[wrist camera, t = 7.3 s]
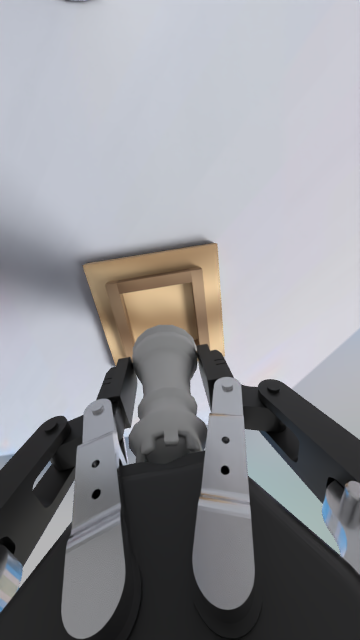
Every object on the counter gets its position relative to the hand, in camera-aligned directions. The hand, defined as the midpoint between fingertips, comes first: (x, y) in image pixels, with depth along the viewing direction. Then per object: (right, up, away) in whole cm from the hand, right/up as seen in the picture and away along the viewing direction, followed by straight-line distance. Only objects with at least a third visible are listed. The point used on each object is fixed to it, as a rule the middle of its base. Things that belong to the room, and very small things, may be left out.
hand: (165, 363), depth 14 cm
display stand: (-1, +4, +8) cm, 9 cm away
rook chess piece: (0, +1, +1) cm, 2 cm away
